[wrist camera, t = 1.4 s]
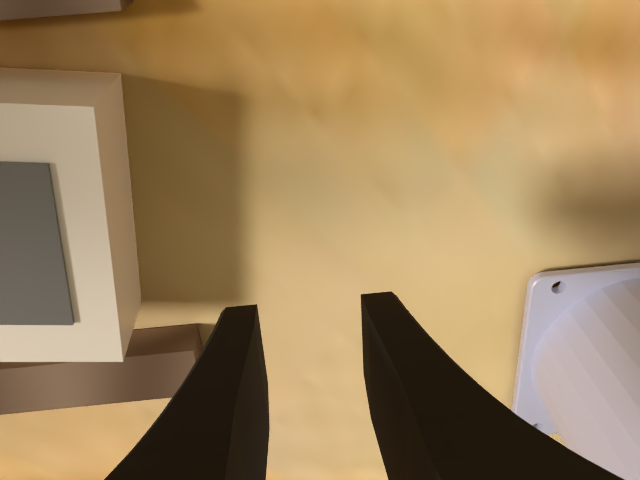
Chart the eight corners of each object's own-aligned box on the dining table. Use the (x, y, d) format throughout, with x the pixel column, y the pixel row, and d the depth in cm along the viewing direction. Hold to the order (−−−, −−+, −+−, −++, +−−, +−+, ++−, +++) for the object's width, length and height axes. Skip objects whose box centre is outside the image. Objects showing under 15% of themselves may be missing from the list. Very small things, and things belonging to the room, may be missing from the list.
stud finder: (122, 70, 18) (92, 108, 15) (143, 296, 22) (122, 365, 19) (-77, 61, 17) (-154, 99, 14) (-20, 295, 21) (-70, 365, 18)
